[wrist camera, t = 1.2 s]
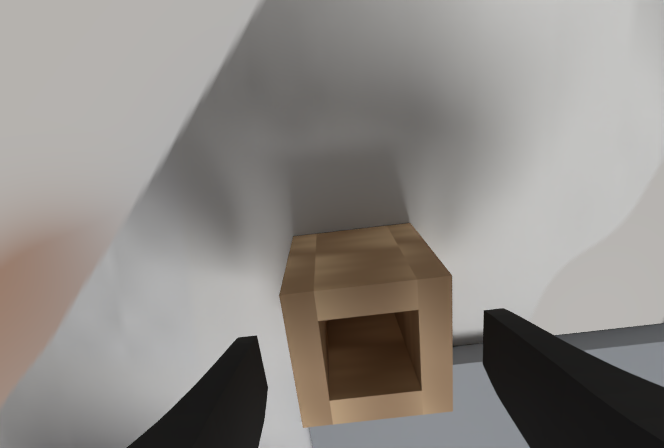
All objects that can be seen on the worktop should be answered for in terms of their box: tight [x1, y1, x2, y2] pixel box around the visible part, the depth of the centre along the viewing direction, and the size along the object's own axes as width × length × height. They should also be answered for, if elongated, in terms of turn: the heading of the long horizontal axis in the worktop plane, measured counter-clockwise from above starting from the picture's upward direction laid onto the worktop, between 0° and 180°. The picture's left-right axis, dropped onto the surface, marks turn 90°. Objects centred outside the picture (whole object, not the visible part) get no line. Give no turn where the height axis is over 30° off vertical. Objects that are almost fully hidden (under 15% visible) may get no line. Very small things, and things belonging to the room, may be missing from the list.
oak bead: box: [279, 223, 453, 428], centre depth 13 cm, size 5×5×5 cm
